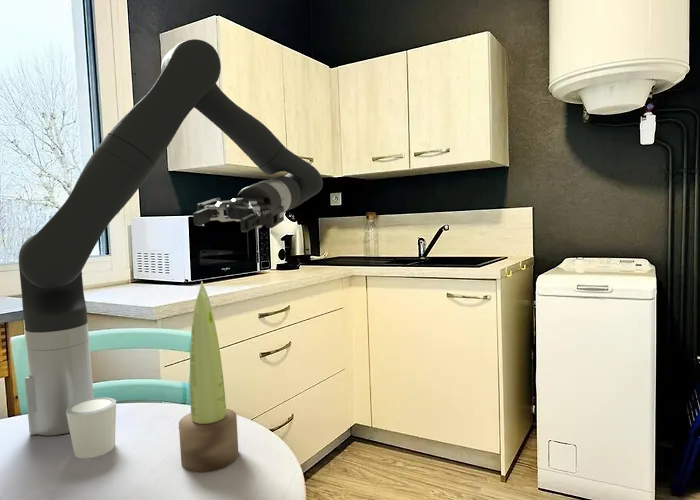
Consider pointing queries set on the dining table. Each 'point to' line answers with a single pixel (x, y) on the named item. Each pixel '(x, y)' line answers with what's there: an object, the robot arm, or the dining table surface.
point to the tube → (205, 365)
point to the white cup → (92, 426)
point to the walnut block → (208, 443)
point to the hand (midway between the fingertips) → (218, 222)
